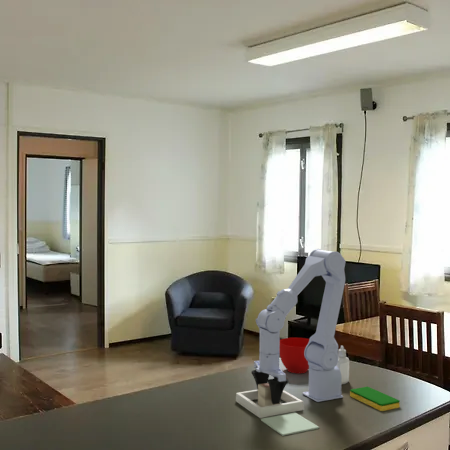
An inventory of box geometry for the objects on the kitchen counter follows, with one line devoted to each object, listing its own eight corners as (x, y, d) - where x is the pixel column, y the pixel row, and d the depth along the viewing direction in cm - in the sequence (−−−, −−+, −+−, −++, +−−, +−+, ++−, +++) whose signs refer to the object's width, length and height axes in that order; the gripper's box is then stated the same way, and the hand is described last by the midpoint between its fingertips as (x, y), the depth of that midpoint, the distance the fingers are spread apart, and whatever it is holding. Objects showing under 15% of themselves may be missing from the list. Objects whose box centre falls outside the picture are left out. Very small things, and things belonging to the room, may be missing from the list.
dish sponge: (367, 393, 175) (367, 386, 175) (400, 408, 163) (400, 400, 163) (349, 397, 172) (349, 389, 172) (381, 412, 160) (381, 404, 160)
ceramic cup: (317, 381, 186) (318, 350, 185) (271, 372, 195) (272, 343, 195) (332, 371, 197) (333, 342, 196) (288, 363, 206) (289, 335, 205)
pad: (295, 413, 157) (295, 412, 157) (318, 428, 147) (318, 426, 147) (260, 420, 152) (260, 418, 152) (282, 435, 143) (282, 434, 143)
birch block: (272, 402, 166) (273, 381, 166) (279, 406, 163) (280, 385, 162) (257, 404, 164) (258, 383, 164) (264, 409, 160) (265, 388, 160)
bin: (276, 394, 173) (277, 386, 173) (303, 410, 160) (303, 401, 160) (235, 401, 167) (236, 392, 166) (259, 418, 154) (259, 408, 154)
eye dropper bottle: (352, 384, 183) (353, 347, 183) (336, 385, 182) (336, 348, 181) (346, 379, 187) (347, 343, 187) (330, 380, 186) (331, 344, 186)
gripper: (245, 347, 167) (244, 393, 168) (270, 360, 154) (269, 409, 155) (265, 345, 170) (265, 389, 171) (292, 357, 157) (291, 405, 158)
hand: (268, 399), depth 163 cm, fingers open, 7 cm apart
